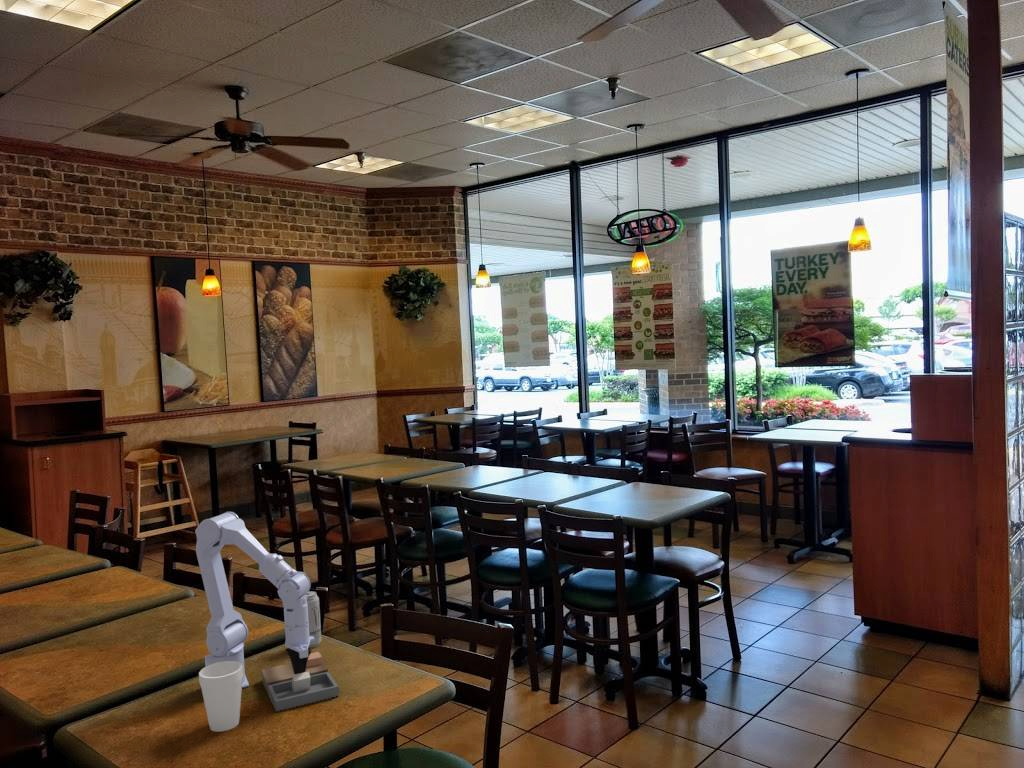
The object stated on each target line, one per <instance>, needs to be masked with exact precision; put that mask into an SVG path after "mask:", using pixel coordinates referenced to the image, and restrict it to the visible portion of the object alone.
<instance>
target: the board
mask: <svg viewBox="0 0 1024 768" xmlns="http://www.w3.org/2000/svg"><path fill="white" fill-rule="evenodd" d="M308 671H309V674H310V676H311V675H316V674H320V673H324V672H329V668H328V667H327V666H326V664H325V662H323V660H322V664H321V665H317V666H313V667H308V668H307V667H306V672H308ZM292 675H294V671H293V667H292V663H291V662H290V663H286V664H281V665H276V666H272V667H267V668H263V669H262V668H261V681H262V684H263V686H264V689H265V690H266V693H267V696H269V693H268V685H273V684H277V683H281V682H286V681H290V680H292Z"/></svg>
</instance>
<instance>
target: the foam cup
mask: <svg viewBox="0 0 1024 768" xmlns="http://www.w3.org/2000/svg"><path fill="white" fill-rule="evenodd" d="M243 676H244V675H243V665H242V664H241V663H240V662H237V661H224V662H217V663H214V664H211V665H208V666H206V667H205V666H204V667H203V668H201V669H200V671H199V672H198V681H199V685H200V687H201V693H202V698H203V703H204V706H205V712H206V715H207V716H206V717H207V720H208V726H209V729H210V731H212V732H217V733H218V732H220V733H221V732H226V731H229V730H231V729H234V728H236V727H237V726H238V725H239V723H240V718H241V717H240V715H241V707H242V706H241V705H242V692H243V691H242V690H243V688H242V678H243Z"/></svg>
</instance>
